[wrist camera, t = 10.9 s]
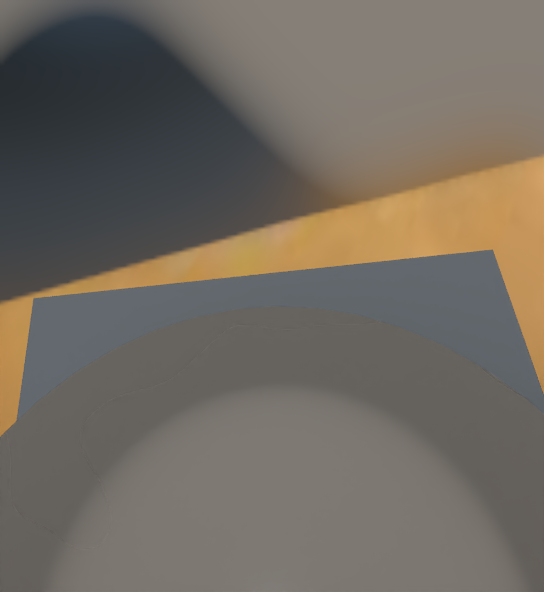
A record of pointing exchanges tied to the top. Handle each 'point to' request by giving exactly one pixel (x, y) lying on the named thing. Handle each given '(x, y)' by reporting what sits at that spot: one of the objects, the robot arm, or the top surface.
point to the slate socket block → (295, 293)
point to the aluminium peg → (275, 465)
